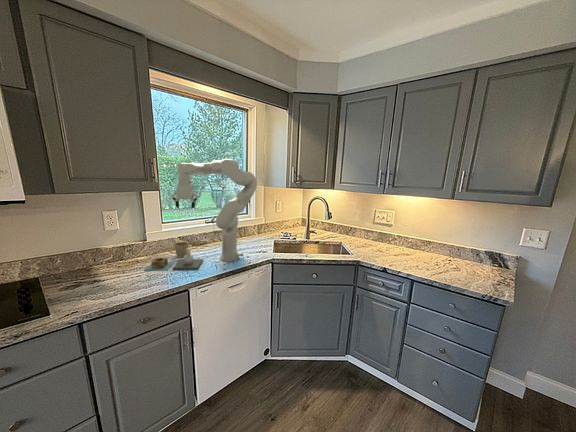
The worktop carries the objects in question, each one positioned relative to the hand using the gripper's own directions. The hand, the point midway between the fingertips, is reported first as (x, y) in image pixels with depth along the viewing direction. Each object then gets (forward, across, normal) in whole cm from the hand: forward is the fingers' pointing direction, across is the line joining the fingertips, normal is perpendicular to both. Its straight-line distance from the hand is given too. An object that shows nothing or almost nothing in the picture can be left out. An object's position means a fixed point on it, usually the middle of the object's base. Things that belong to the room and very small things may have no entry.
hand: (185, 207), depth 162 cm
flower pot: (+32, +2, +5) cm, 33 cm away
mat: (+32, +9, +24) cm, 41 cm away
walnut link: (+32, +9, +24) cm, 41 cm away
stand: (+32, -7, +22) cm, 40 cm away
